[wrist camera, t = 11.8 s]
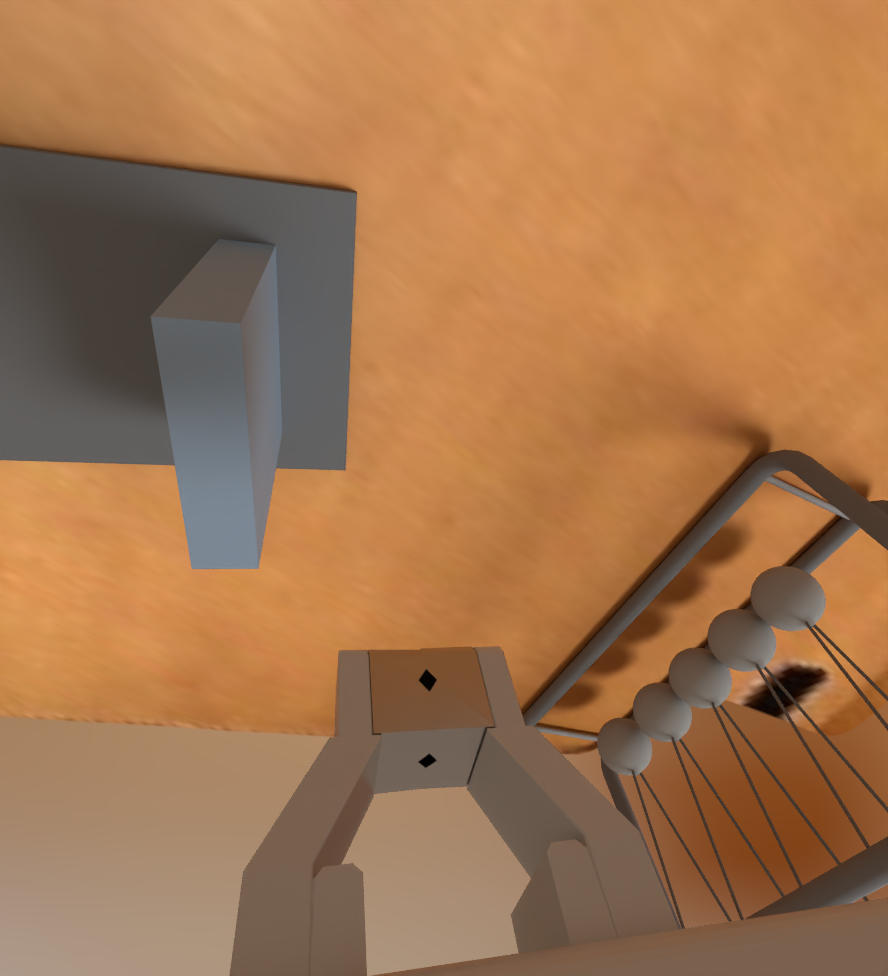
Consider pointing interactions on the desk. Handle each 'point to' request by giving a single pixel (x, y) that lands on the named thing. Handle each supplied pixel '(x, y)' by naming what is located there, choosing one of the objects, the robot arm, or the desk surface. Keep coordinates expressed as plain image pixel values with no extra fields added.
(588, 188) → the desk surface
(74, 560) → the desk surface
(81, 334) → the mat
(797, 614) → the newton's cradle
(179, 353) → the tile
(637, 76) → the desk surface
